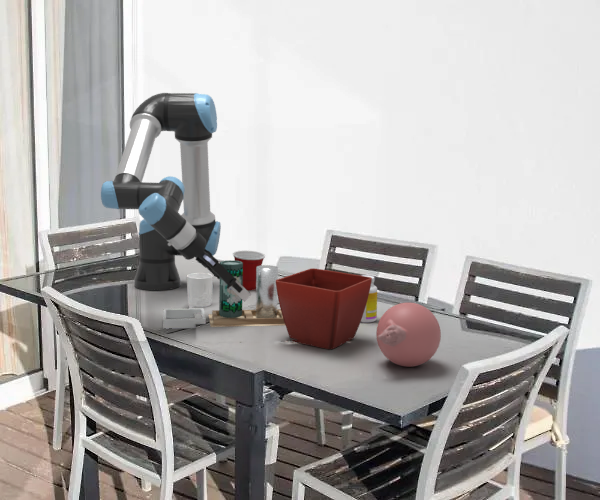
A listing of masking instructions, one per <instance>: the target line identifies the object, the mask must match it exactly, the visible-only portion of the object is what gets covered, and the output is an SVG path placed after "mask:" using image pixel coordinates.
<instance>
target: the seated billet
mask: <svg viewBox="0 0 600 500" xmlns="http://www.w3.org/2000/svg"><path fill="white" fill-rule="evenodd" d="M278 275H279V267H278V266H276V265H271V264H269V265H268V264H267V265H266V264H265V265H263V264H262V265H261V266H257V267H256V290H255V310H256V318H277V309H278V295H277V289H276V280H277V279H279V276H278Z"/></svg>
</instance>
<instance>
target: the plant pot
mask: <svg viewBox="0 0 600 500" xmlns="http://www.w3.org/2000/svg"><path fill="white" fill-rule="evenodd" d="M371 282H372V278H371V277H366V276H362V275H360V274H353V273H347V272H341V271H340V272H339V271H334V270H327V269H320V268H308V269H305V270H301V271H299V272H295V273H293V274H290V275H287V276H283V277H282V278H278V279H277V280H276V289H277V301H278V304H279V307H280V308H279V309H281V312H282V316H283V319H284V322H285V325H284V326H285V328H286V331H287V334H288V336H289V338H290V339H291V340H290V341H291V342H294V343H298V344H303V345H307V346H312V347H317V348H321V349H325V350H333V349H336V348H338V347H340V346H342V345H344V344H346V343H347V342H350V341H351V340H353V339H354V338H355V337H356V334H357V332H358V329H359V327H360V324H361V323H362V322H361V319H362V316H363V313H364V310H365V307H366V303H367V300H368V296H369V291H370V287H371Z"/></svg>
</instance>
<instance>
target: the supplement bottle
mask: <svg viewBox="0 0 600 500" xmlns="http://www.w3.org/2000/svg"><path fill="white" fill-rule="evenodd" d="M361 276H366V277H371V278H372V282H371V287H370V291H369V296H368V300H367V303H366V307H365V310H364V313H363V316H362V319H361V322H360V323H367V324H368V323H373V322H375V321H377V313H378V310H377V309H378V287H377V286H376V285H375V284H374V283H375V276H373V275H366V274H365V275H361Z"/></svg>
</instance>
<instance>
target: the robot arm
mask: <svg viewBox="0 0 600 500" xmlns="http://www.w3.org/2000/svg"><path fill="white" fill-rule="evenodd" d="M216 109H217V108H216V105H215V101H214V99H213V98H212V96H210V95H209V94H205V93H197V92H195V93H192V92H191V93H188V92H187V93H182V92H181V93H179V92H177V93H176V92H171V93H170V92H160V93H156V94H154V95H151V96H150V97H148V98H147V99H145V100H144V101H143V102H142V103H140V105H139V106H137V108H136V109H135V110H134V112H133V113H132V115H131V117H130V120H129V128H130V132H129V135H128V138H127V140H126V143H125V147H124V149H123V153H122V155H121V158H120V162H119V164H118V167H117V170H116V173H115V176H114V180H107V181H105V182H103V183H102V185H101V189H100V199H101V203H102V205H103V207H105V208H106V209H113V210H114V209H115V210H138V214H139V215H140V216H141V218H142V220H140V222H139V224H138V226H139V228H138V243H139V245H138V251H139V252H138V253H139V264H138V266H137V270H136V273H135V276H134V281H133V284H134V287H135V288H136V289H139V290H143V291H144V290H145V291H168V290H173V289H177V288H180V286H181V277H180V274H179V272H178V269H177V264H176V256H177V257H178V256H179V257H180V256H181V257H183V258H184V259H185V260H189V261H190V260H193V259H195V261H196V262H197V263H199V264H201V266H203V267H204V268H206V269H207V270H208V271H209V272H210V274H212V275H213V277H215V278H217V280H219V281H220V278H221V279H222V280H223V281H224V282H225V283H226V284H228V286H227V288H228V289H229V287H230V288H231V289H232V290H233V291H234V292H235V293H236V294H237V295H238V296H239V297H240V298H241V299H242V302H246V301H247V300H248V299H249V298H250V297H251V296H252V293H250V292H249V290H246V289H245V288H244V287H243V286H242V285H241V284H240V283H239V282H238V281H237V279H236V278H234V277H233V276H232V275H231V274H230V273H229V272H228V271H227V270H226V269H225V268H224V267H223V266H222V265H221V264H220V262H219V260H218V259H217V258H216V257H214V256H215V255H216V254H217V252H218V247H219V243H220V237H221V225H222V224H221V222H220V221H218V220H216V215H215V214H214V213H213V212H211V196H210V171H209V170H210V169H209V148H208V146H209V145H208V144H209V141H210V140H211V139H212V138H213V134H214V133H216V132H217V129H218V120H217V119H218V115H217V110H216ZM162 132H174V139H175V140H176V141H178V142H179V144H180V145H179V148H180V165H181V180H180V178H179V177H176V176H171V175H170V176H169V175H168V176H166V177H164V178H162V179H161V180H160V181H159V182H146V181H145V182H144V181H143V179H144V177H145V173H146V170H147V167H148V164H149V160H150V157H151V154H152V150H153V147H154V143H155V140H156V139H157V137H159V136H160V135H161V133H162ZM182 202H183V213H182V214H180V213H179V210H180V208H181V206H182Z"/></svg>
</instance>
